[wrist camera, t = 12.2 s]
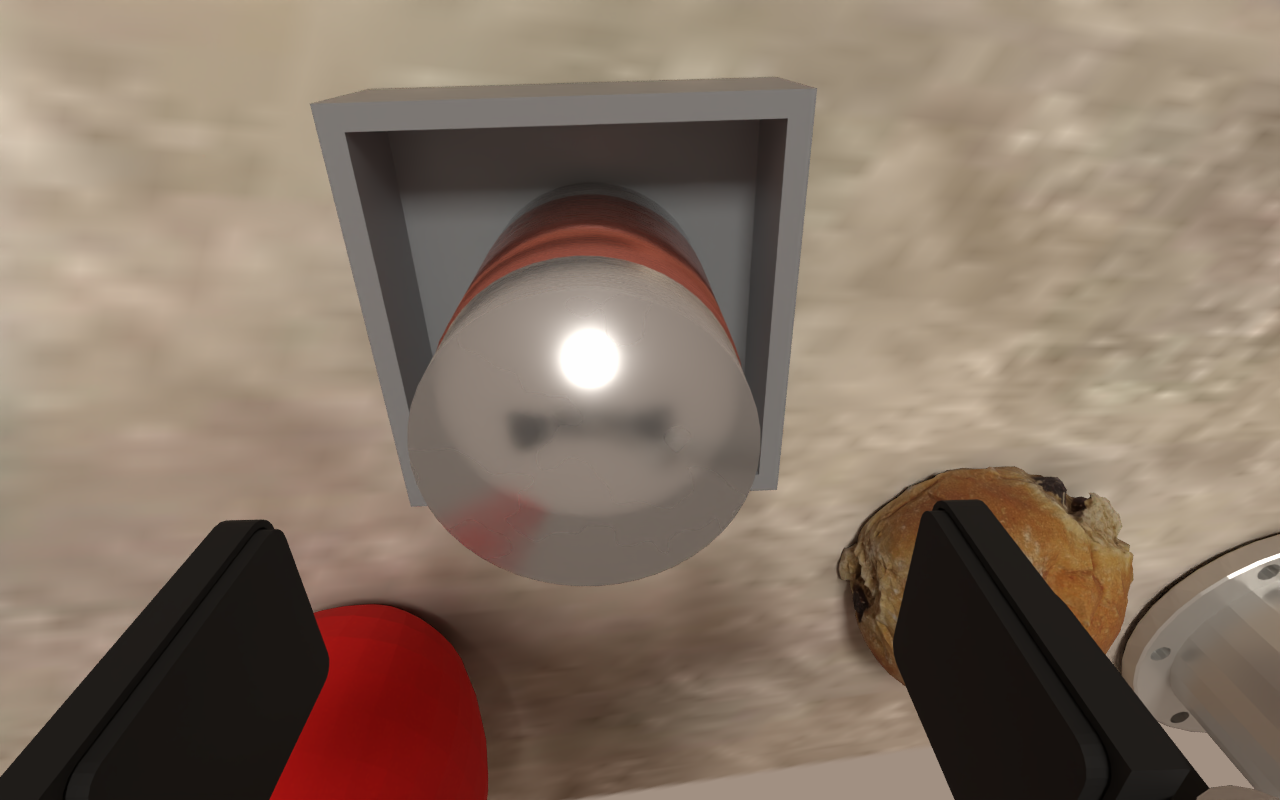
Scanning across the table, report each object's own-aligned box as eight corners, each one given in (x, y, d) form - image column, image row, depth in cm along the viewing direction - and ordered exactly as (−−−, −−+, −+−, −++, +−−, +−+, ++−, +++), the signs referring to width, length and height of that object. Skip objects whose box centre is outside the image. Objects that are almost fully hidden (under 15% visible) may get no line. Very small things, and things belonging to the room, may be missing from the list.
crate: (776, 76, 18) (816, 88, 15) (752, 421, 24) (777, 489, 20) (368, 88, 18) (310, 103, 14) (440, 435, 23) (411, 506, 20)
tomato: (555, 609, 28) (521, 984, 17) (452, 757, 33) (373, 1123, 22) (256, 503, 24) (-27, 886, 14) (190, 685, 29) (-59, 1078, 18)
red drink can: (703, 175, 18) (774, 277, 10) (700, 380, 21) (754, 578, 14) (470, 185, 18) (365, 296, 10) (502, 391, 21) (440, 596, 13)
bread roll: (837, 431, 28) (803, 572, 23) (1127, 420, 23) (1180, 597, 18) (872, 585, 33) (852, 735, 27) (1119, 603, 28) (1160, 790, 22)
